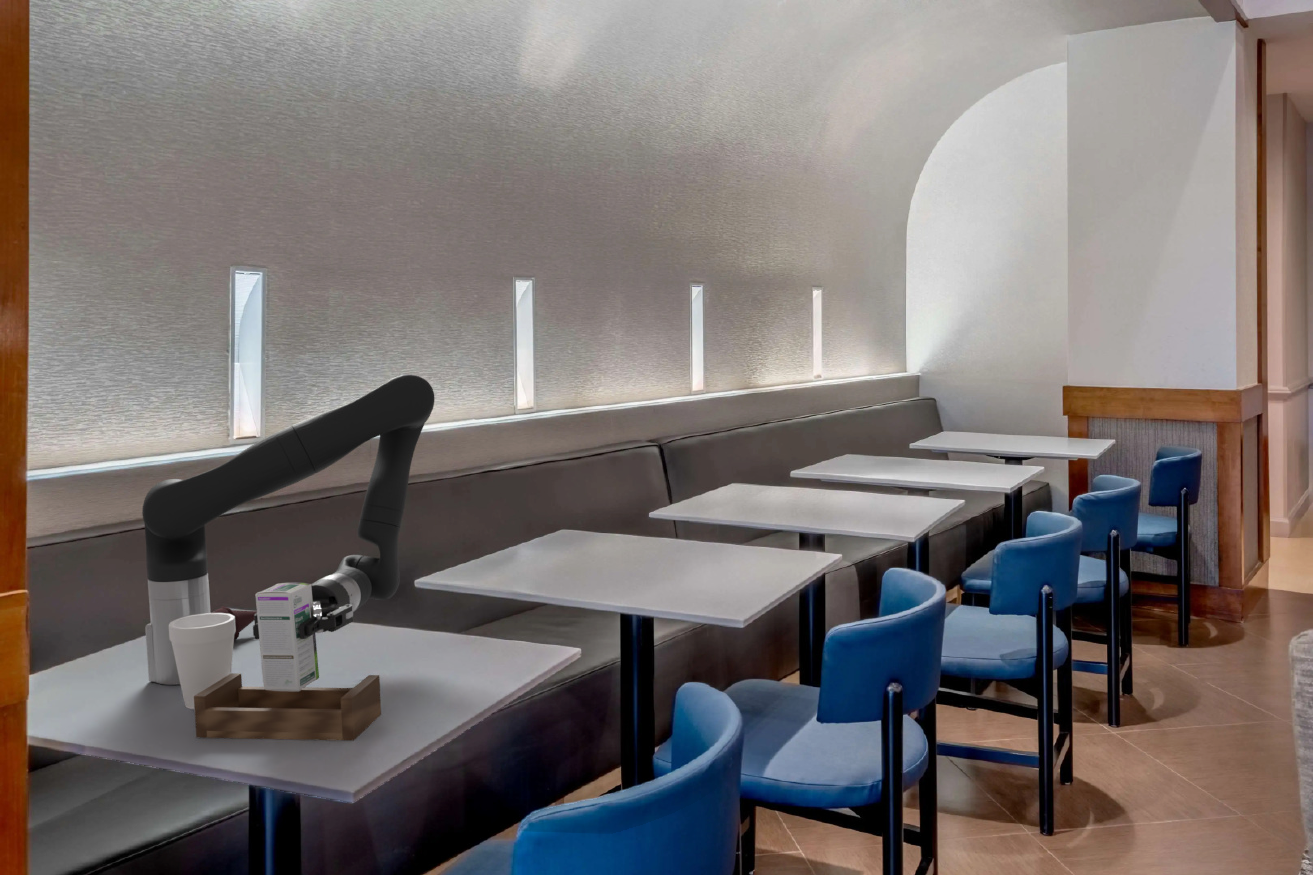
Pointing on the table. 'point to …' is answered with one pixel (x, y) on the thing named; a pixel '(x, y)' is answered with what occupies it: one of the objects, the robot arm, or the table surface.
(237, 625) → the icecream
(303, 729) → the wooden crate tray
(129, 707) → the table surface
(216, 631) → the foam cup
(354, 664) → the table surface
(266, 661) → the syrup box
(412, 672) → the table surface
